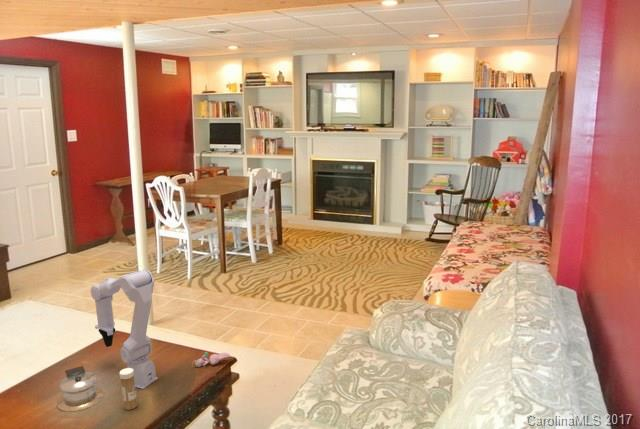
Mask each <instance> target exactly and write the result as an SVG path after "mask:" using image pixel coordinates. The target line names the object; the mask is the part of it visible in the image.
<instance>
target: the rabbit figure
mask: <svg viewBox="0 0 640 429" xmlns="http://www.w3.org/2000/svg"><path fill="white" fill-rule="evenodd" d="M208 357H209V359H208ZM225 358H231V354H229V353H227V352H221V353H218V354H216V353H213V354H211V355H209V352H207V351H205V352H204V354H203V355H202V356H201V357H200V358H198V359H197V360H196V359H194V360H192V362H191V363H192V364H191V366H192V368H194V365H195V367H197V368H200V367H202V366H203V367H204V366H206V365H207V364H210V365H212V366H214V365H216V364H218V363H219V362H220V361H221V360H223V359H225Z"/></svg>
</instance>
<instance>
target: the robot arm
mask: <svg viewBox="0 0 640 429" xmlns="http://www.w3.org/2000/svg"><path fill="white" fill-rule="evenodd" d="M154 286H155V279H154V276H153V274H152V273H151V271H150V270H149V269H145V268H144V269H142V270H138V271H135V272H134V271H133V272H130V273H127V274H123V275H121V276H119V277H118V278H114V277H107V278H106V279H105V280H102V281H101V282H100V283H98V284H96V285H92V286H91V287H90V294H91V297H92V299H93V301H95V310H96V311H95V312H96V318H97V324H96V325H94V328H95V329H96V330H97V331H98V332H99V335H101V337H102V340H103V343H104V346H105V347H106V348H109V347H112V346H113V340H114V335H115V332H116V328H115V324H116V323H115V320H114V312H113V310H114V309H113V302H112V301H113V300H114V299H113V295H115V294H117V293H119V292H120V290H122V291H123V292H124V294H125V295H126V297H127V298H128V300H129V302H133V303H134V308H133V313H132V322H131V326H130V333H129V337H128V338H127V339H125V341H124V342H123V345H122V347H121V348H120V351H119V353H120V358H121V360H122V361H123V362H124V363H126V366H127V367H126V368H132V369H133V370H134V382H135V388H138V389H142V390H143V389H145V388H147V387H148V386H150V385H151V384H152V383H154V382H155V381H157V380H158V379H159V378H158V377H157V372H156V365H155V363H154V362H153V361H152V360H150V359H149V358H150V354H151V353H152V340H151V338H150V337H149V336H148V335H147V330H148V325H149V324H148V323H149V320H150V313H151V307H152V300H153V298H152V297H153V296H152V295H153V292H154Z"/></svg>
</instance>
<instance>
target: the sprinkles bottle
mask: <svg viewBox="0 0 640 429" xmlns="http://www.w3.org/2000/svg"><path fill="white" fill-rule="evenodd" d="M119 378H120V384H121V386H120V388H121V394H122V395H121V396H122V401H123V409H124V410H127V411H129V410H133V409H135V408H136V407H137V406H138V402H137V400H138V399H137V392H136V390H137V389H136V387H135V382H134V370H133V369H132V368H127V367H126V368H123V369H121V370H120V371H119Z"/></svg>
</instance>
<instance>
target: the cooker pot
mask: <svg viewBox="0 0 640 429" xmlns="http://www.w3.org/2000/svg"><path fill="white" fill-rule="evenodd" d="M104 393H105V392H104V390H103V389H102V388H100V387H98V386H97V385H96V384H95V385H94V386H92V387H91V388H89V389H87V390H85V391H82V392H78V393H64V392H62V395H61V397H59V399H58V400H57V403H56V406H57V409H58V410H60V411H62V412H67V413H68V412H69V413H72V412H73V413H74V412H80V411H83V410H86V409H89V408H91V407H93V406H95V405H97V404H98V403H99V402H100V401H101V400H102V399H103V398H104V396H105V394H104Z"/></svg>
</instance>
